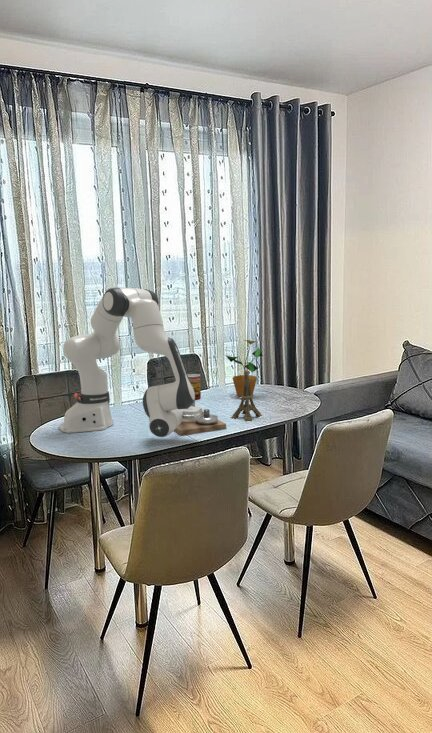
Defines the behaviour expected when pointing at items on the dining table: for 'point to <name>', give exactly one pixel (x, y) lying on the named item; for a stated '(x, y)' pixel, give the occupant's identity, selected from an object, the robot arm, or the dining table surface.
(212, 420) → the crank handle
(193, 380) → the canned food
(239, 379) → the potted plant
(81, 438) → the dining table surface
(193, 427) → the stand
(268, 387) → the dining table surface
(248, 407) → the eiffel tower
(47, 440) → the dining table surface
